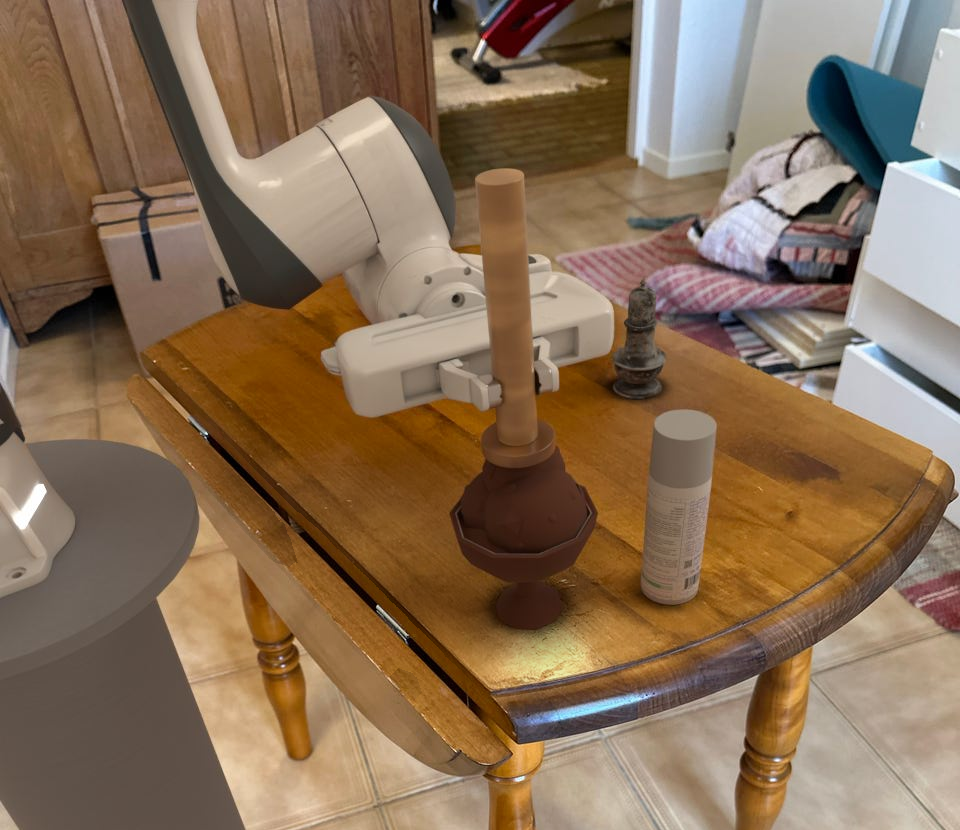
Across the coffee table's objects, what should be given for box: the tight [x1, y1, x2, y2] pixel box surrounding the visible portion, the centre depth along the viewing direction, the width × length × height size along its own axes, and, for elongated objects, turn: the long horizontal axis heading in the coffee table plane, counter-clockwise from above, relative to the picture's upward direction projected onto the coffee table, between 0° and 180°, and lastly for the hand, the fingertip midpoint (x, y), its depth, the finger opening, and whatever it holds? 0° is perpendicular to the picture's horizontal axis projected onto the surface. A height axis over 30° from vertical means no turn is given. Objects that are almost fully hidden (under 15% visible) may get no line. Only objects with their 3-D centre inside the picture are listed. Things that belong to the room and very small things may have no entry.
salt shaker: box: [611, 278, 668, 400], centre depth 98 cm, size 6×6×12 cm
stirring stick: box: [474, 168, 557, 468], centre depth 59 cm, size 5×5×18 cm
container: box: [640, 408, 718, 606], centre depth 71 cm, size 5×5×15 cm
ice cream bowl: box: [448, 445, 599, 630], centre depth 70 cm, size 11×11×15 cm
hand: (521, 390), depth 61 cm, fingers closed on stirring stick, 3 cm apart
